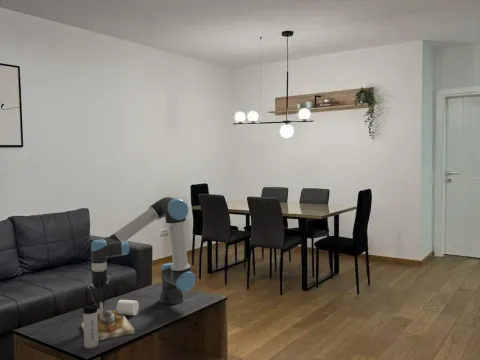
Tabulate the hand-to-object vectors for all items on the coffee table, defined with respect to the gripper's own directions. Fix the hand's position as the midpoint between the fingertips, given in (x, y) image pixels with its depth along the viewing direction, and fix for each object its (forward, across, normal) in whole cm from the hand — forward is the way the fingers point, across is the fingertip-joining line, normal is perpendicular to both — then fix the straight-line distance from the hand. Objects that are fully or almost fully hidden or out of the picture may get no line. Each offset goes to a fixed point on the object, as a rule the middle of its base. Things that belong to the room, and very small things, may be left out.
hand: (100, 314), depth 229 cm
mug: (+7, -21, -5) cm, 23 cm away
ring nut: (+4, 0, +7) cm, 9 cm away
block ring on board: (+7, 0, +6) cm, 9 cm away
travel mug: (+7, +16, +18) cm, 25 cm away
